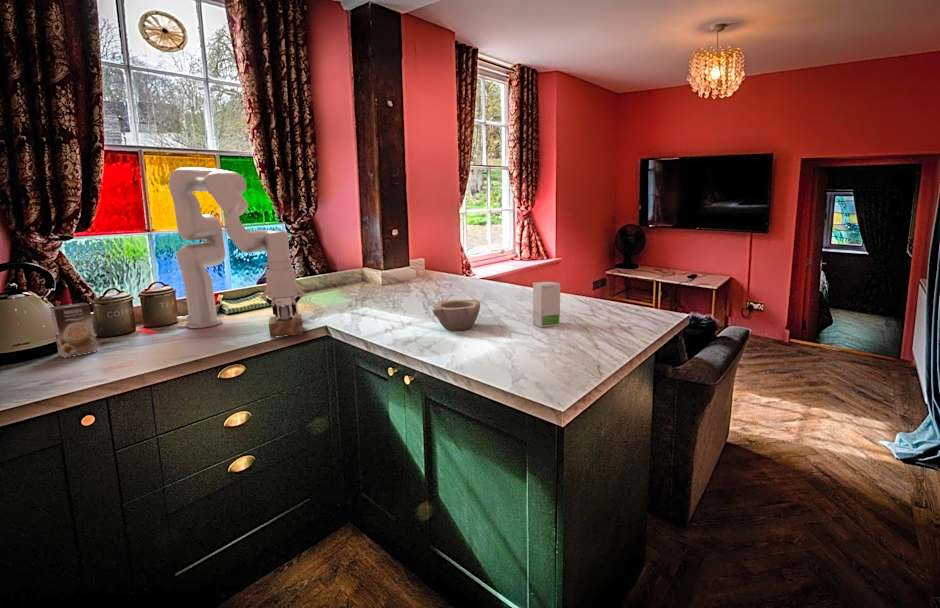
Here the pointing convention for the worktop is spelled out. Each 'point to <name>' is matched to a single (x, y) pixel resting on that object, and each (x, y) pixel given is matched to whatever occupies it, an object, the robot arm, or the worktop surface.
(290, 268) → the robot arm
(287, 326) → the socket block
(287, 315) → the peg
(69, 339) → the coffee box
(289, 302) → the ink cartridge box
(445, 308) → the mortar
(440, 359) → the worktop surface
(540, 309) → the skincare box
